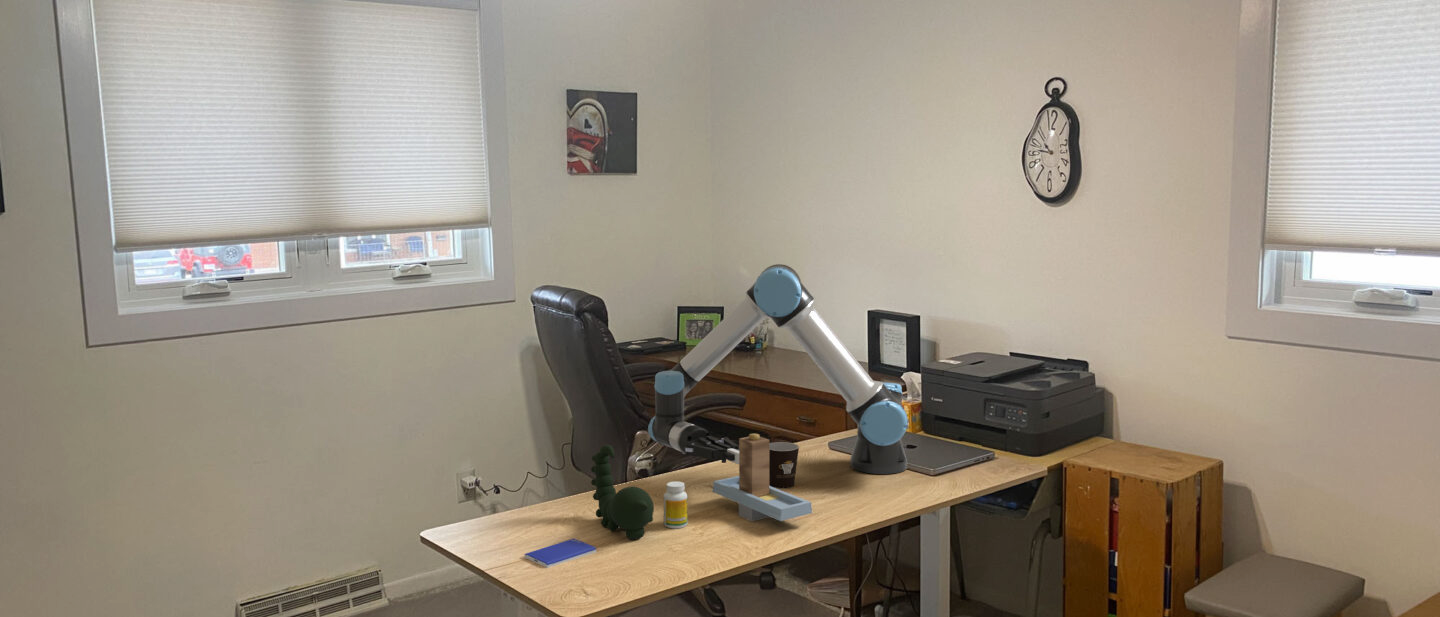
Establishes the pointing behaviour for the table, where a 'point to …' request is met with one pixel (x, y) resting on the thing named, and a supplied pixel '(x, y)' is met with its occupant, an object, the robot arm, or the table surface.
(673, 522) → the supplement bottle
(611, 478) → the toy figurine
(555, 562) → the hard drive
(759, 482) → the brown block with knob
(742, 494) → the beam
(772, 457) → the coffee mug
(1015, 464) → the table surface
